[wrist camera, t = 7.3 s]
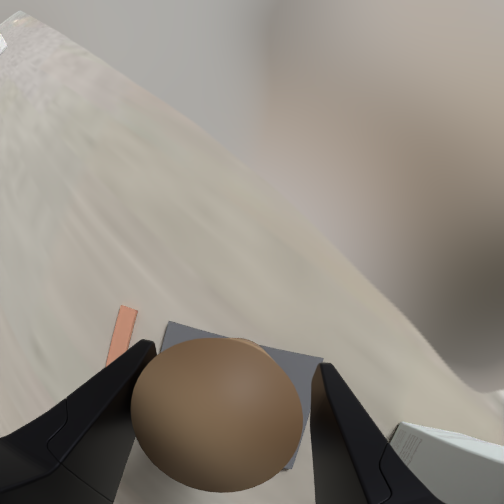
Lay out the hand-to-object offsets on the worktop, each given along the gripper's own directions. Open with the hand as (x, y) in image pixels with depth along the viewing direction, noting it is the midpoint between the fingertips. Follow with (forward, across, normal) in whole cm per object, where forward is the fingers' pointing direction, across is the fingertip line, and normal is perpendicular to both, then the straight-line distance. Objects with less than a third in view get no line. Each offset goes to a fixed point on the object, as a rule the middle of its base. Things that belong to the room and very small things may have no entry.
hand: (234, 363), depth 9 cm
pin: (+5, 0, +7) cm, 9 cm away
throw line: (+4, +8, +10) cm, 13 cm away
